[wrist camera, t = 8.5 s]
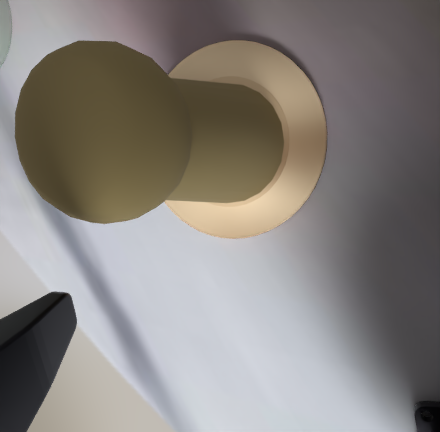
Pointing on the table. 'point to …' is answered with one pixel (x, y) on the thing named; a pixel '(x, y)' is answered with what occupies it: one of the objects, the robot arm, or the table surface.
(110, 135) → the pepper shaker
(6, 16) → the pale mint rounded cylinder
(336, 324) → the table surface
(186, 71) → the trivet
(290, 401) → the table surface
